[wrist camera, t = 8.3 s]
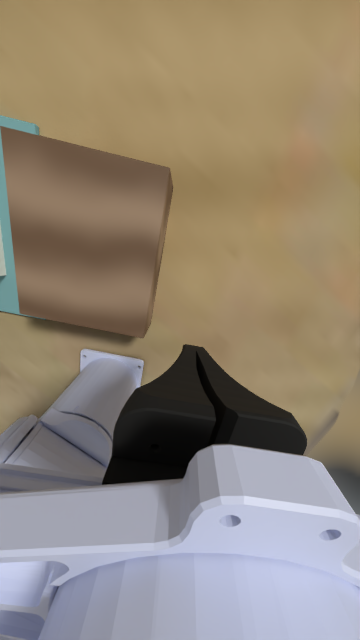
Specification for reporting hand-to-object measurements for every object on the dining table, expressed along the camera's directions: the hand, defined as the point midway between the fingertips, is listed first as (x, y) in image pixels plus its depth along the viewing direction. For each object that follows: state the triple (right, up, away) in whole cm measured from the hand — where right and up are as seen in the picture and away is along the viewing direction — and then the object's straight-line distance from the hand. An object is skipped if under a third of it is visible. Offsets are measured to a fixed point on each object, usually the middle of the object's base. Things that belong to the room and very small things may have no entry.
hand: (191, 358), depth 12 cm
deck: (-9, +10, +7) cm, 15 cm away
